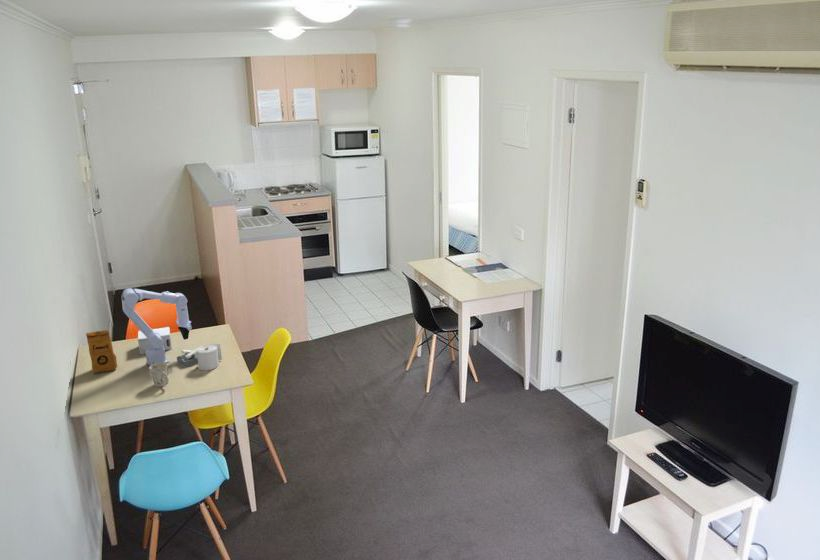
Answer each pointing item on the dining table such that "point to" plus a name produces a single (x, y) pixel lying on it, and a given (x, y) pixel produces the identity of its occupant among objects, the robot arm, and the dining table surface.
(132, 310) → the robot arm
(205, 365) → the toilet tissue
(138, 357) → the dining table surface
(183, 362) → the switch housing
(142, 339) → the supplement box
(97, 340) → the coffee package
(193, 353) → the rocker
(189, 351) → the rocker
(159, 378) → the mug
